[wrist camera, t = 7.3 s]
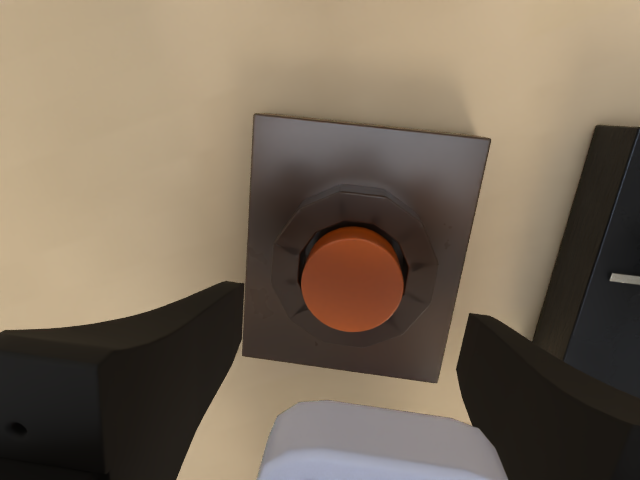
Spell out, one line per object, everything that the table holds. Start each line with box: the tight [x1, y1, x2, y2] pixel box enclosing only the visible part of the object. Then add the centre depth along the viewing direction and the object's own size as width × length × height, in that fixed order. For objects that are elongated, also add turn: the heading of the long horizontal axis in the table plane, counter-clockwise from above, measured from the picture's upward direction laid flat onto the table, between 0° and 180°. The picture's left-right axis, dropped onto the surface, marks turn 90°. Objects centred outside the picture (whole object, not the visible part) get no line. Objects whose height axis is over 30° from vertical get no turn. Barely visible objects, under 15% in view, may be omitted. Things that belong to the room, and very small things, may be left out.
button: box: [301, 226, 404, 332], centre depth 17 cm, size 4×4×2 cm
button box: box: [242, 113, 491, 383], centre depth 19 cm, size 12×10×4 cm
